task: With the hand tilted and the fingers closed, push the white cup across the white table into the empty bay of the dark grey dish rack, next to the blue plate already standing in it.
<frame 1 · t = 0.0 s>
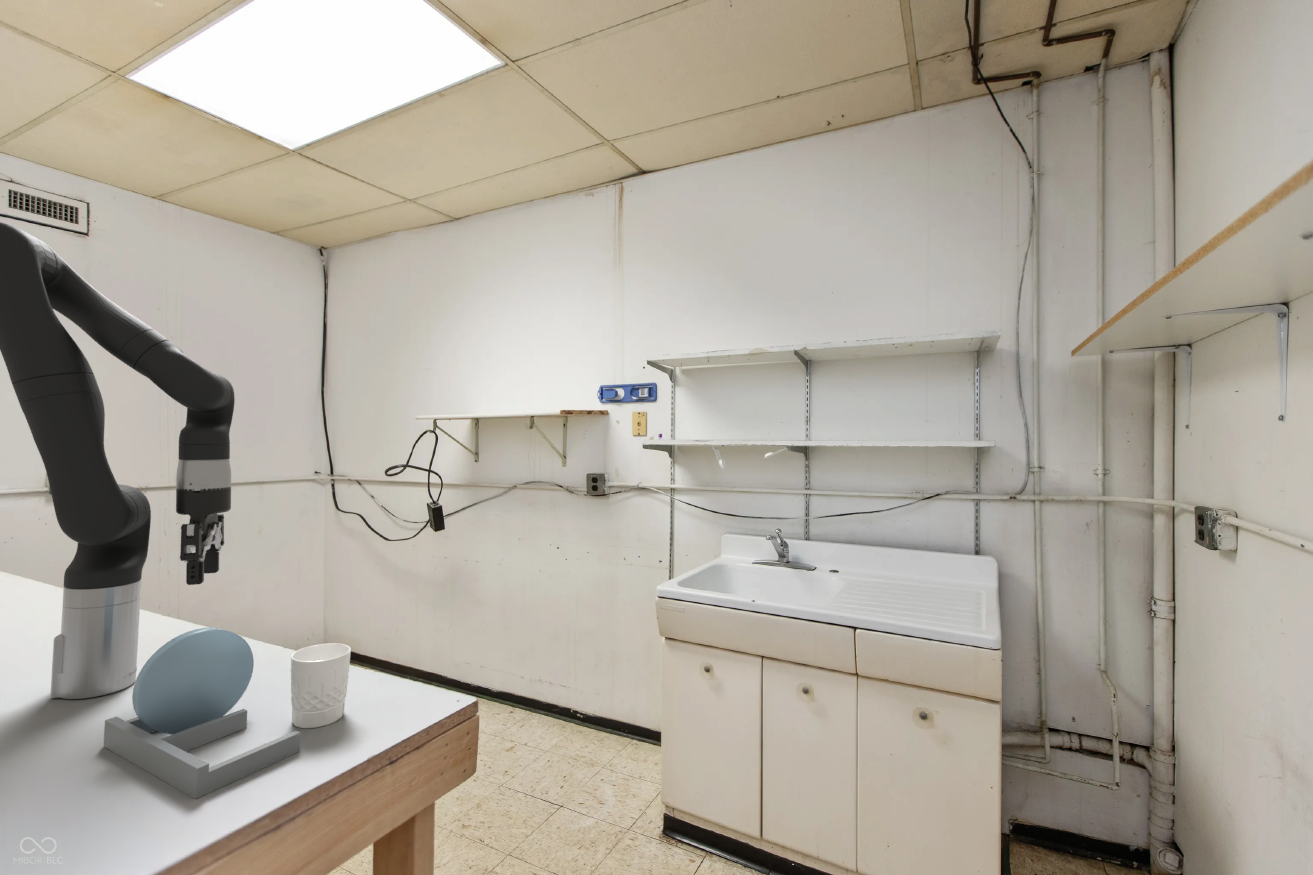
hand: (203, 578, 99), 17 cm above the table, tool pointing down, fingers open, 8 cm apart
dish rack: (230, 754, 76), on the table
white cup: (318, 719, 86), on the table
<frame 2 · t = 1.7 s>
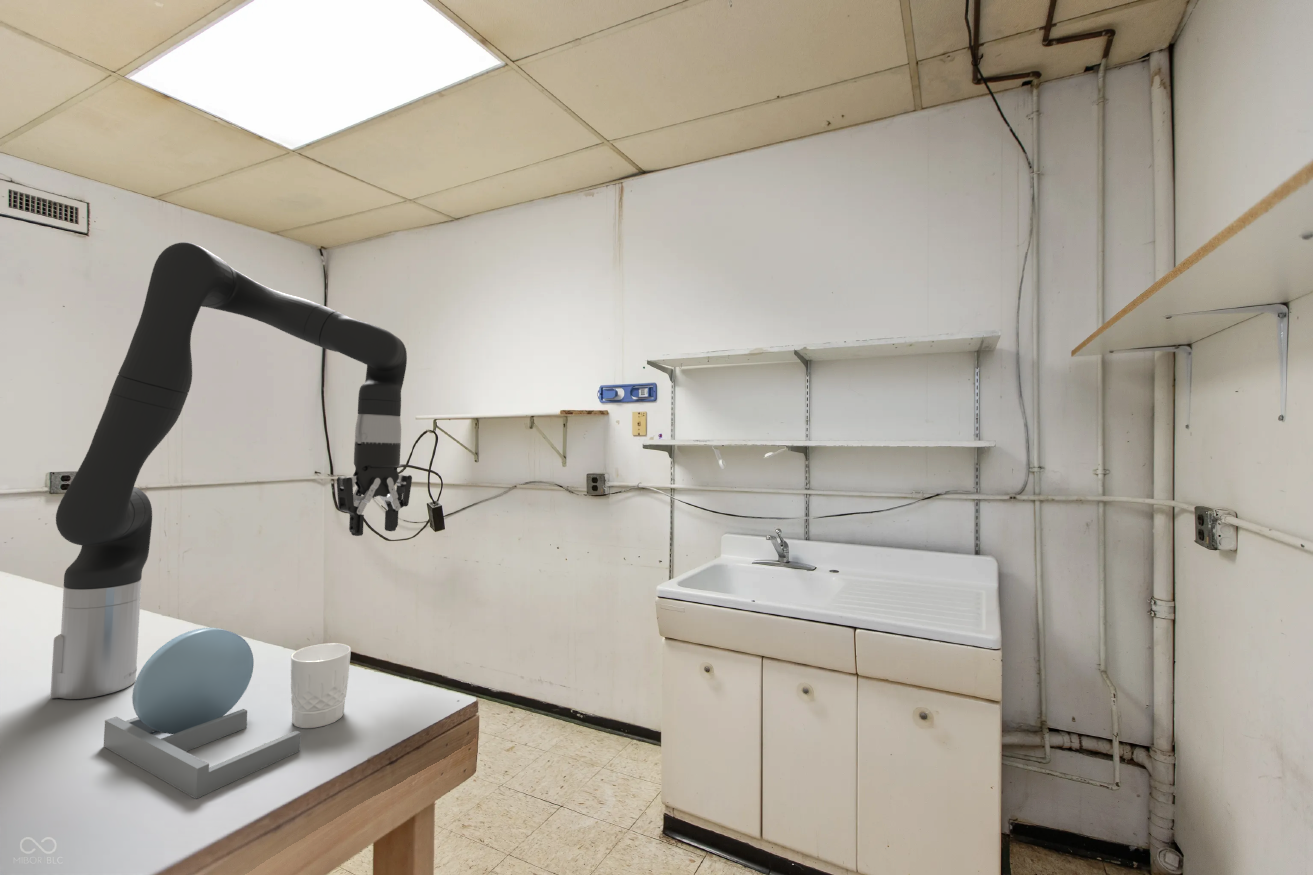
hand: (373, 532, 103), 26 cm above the table, tool pointing down, fingers open, 6 cm apart
nothing on the table moved.
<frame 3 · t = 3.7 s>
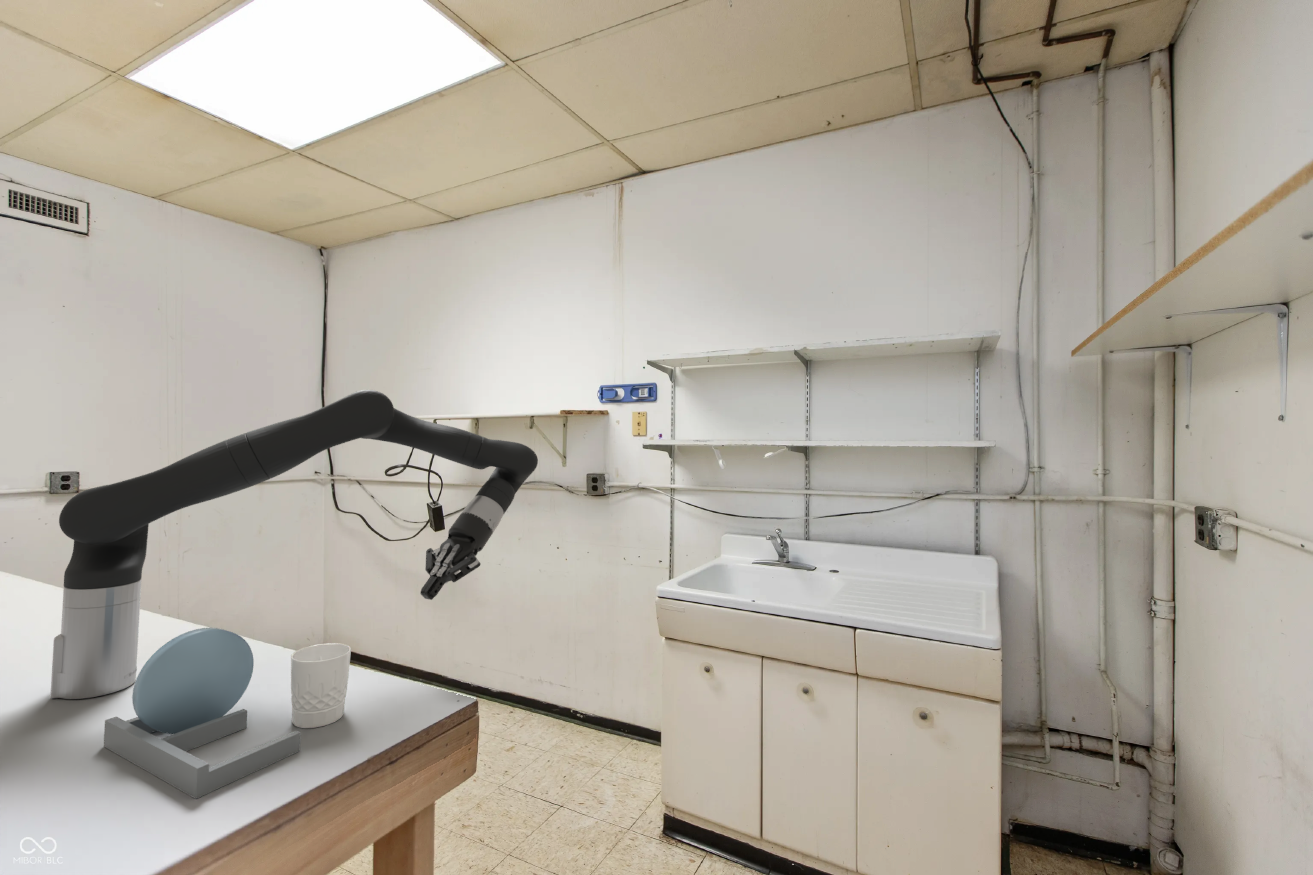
hand: (425, 596, 104), 14 cm above the table, tool tilted 45°, fingers closed
nothing on the table moved.
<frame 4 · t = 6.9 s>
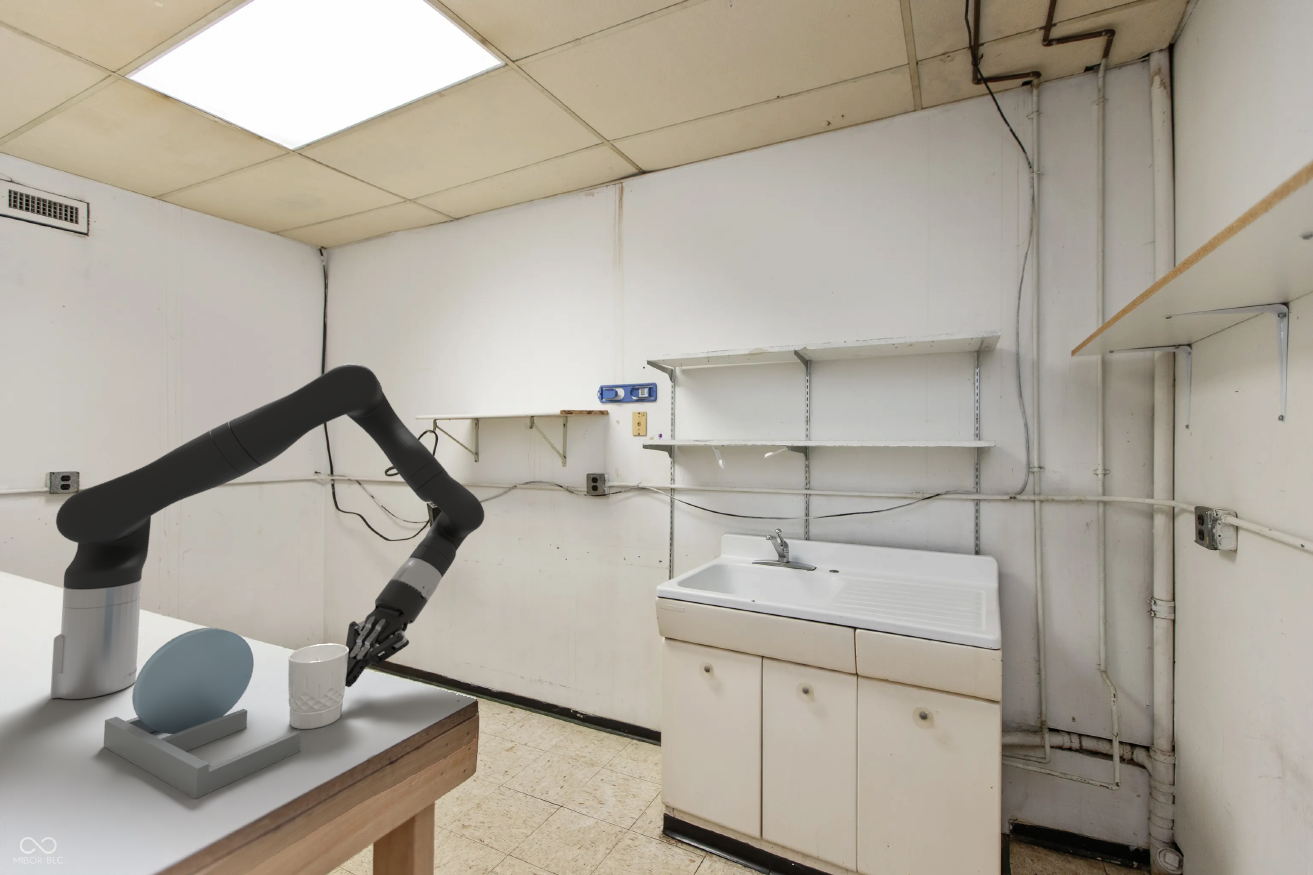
hand: (342, 683, 90), 4 cm above the table, tool tilted 45°, fingers closed
white cup: (315, 720, 86), on the table, touching gripper
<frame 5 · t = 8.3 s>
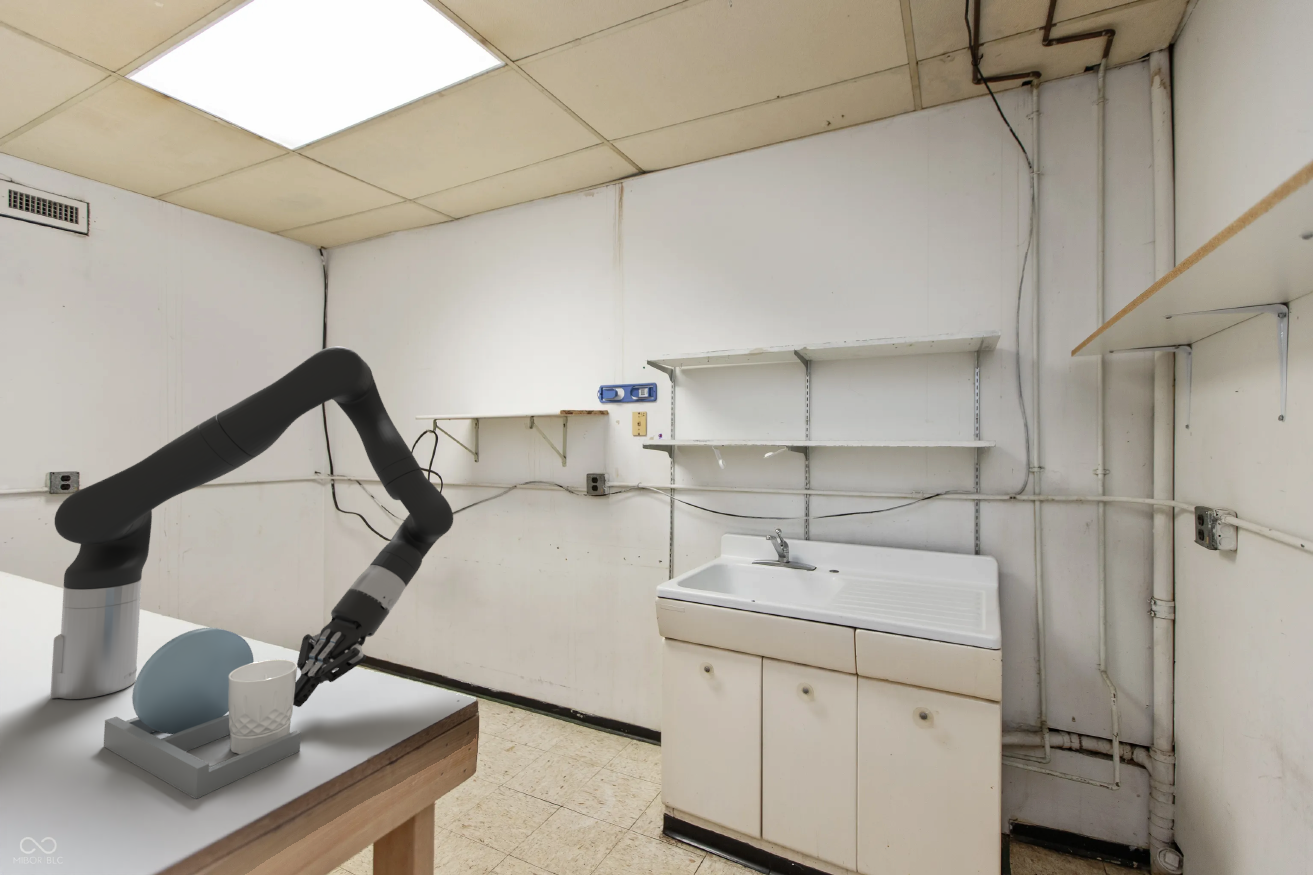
hand: (292, 703, 83), 4 cm above the table, tool tilted 45°, fingers closed
white cup: (260, 743, 79), on the table, touching gripper
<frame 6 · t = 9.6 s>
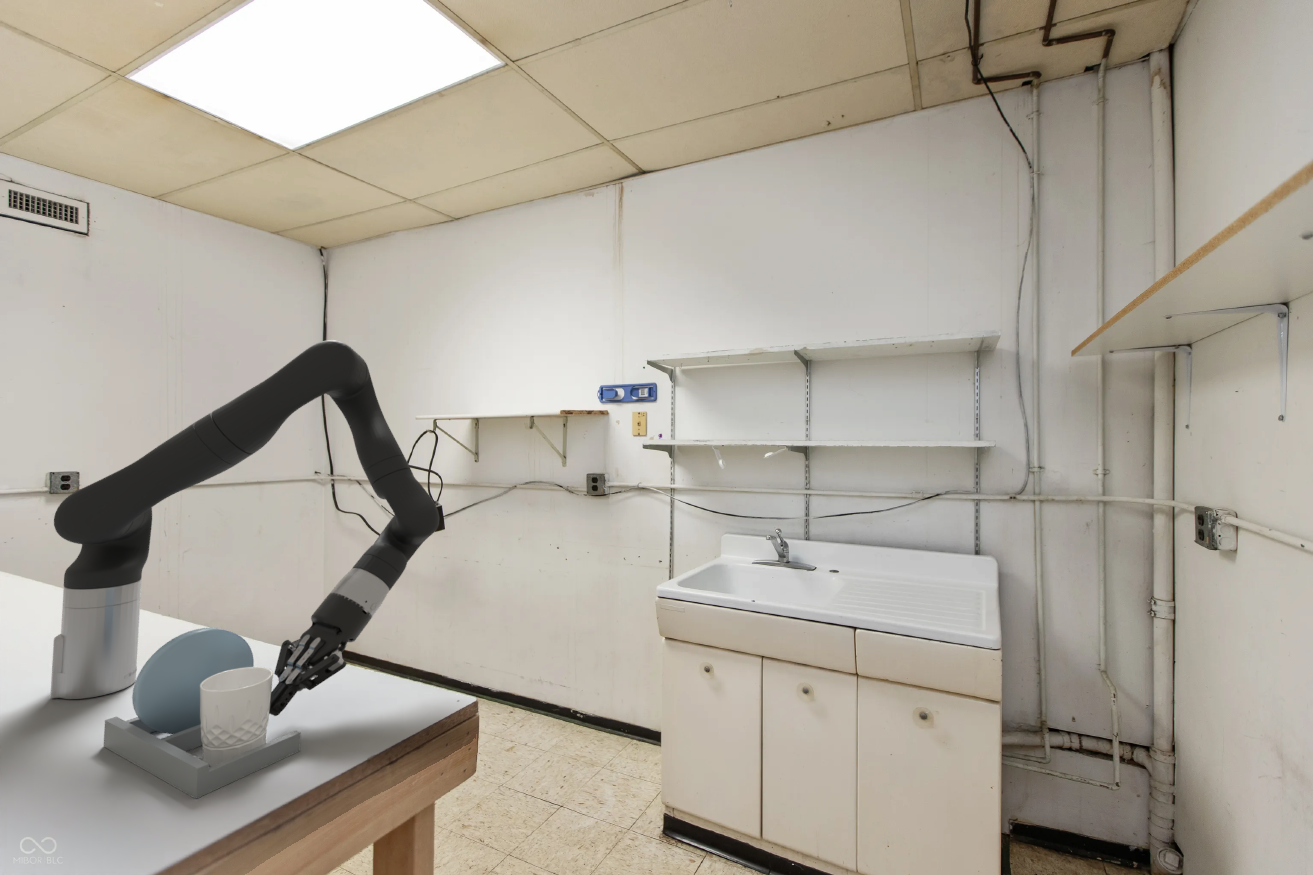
hand: (268, 712, 80), 4 cm above the table, tool tilted 45°, fingers closed
white cup: (234, 754, 76), on the table, touching gripper
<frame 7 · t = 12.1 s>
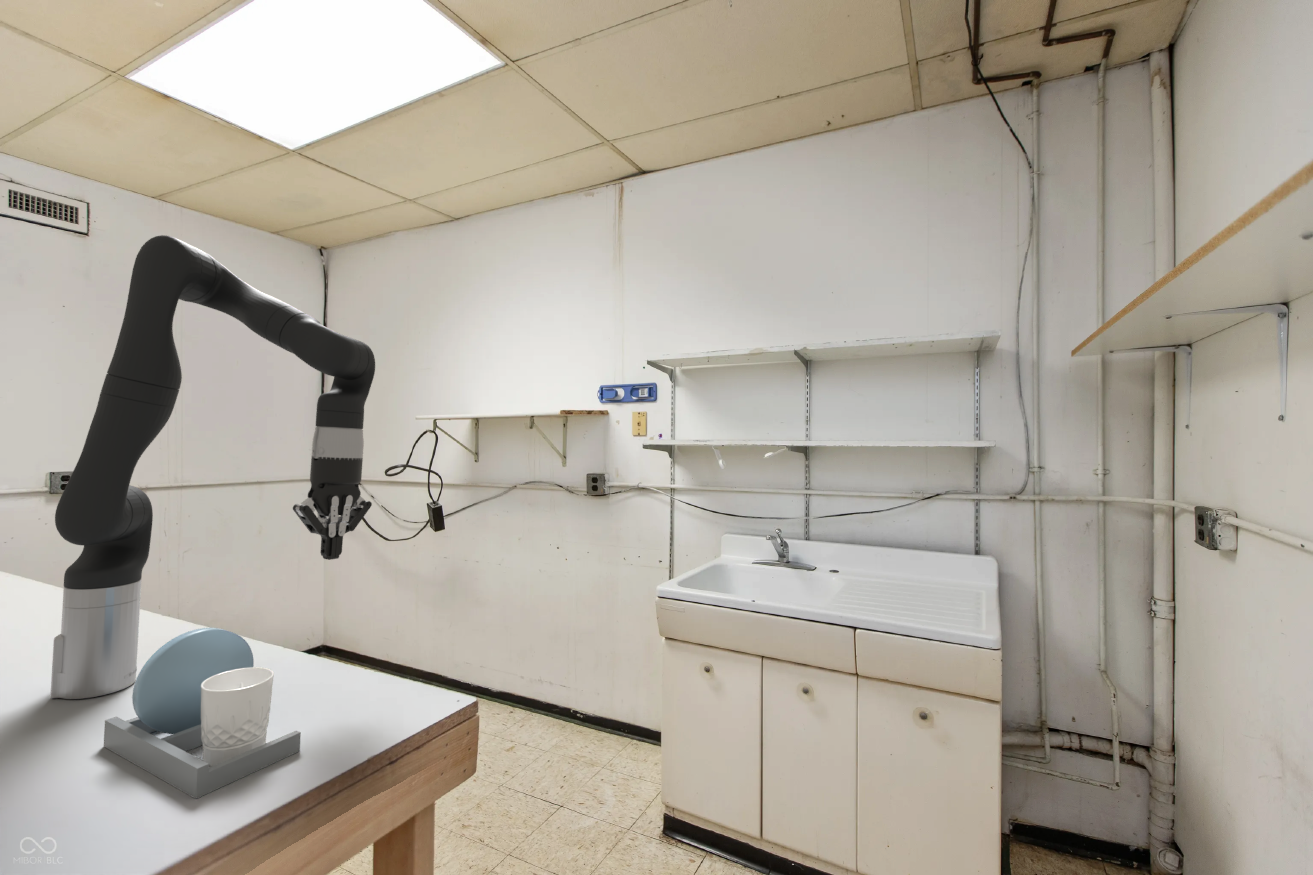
hand: (330, 558, 95), 22 cm above the table, tool pointing down, fingers closed
white cup: (234, 755, 76), on the table
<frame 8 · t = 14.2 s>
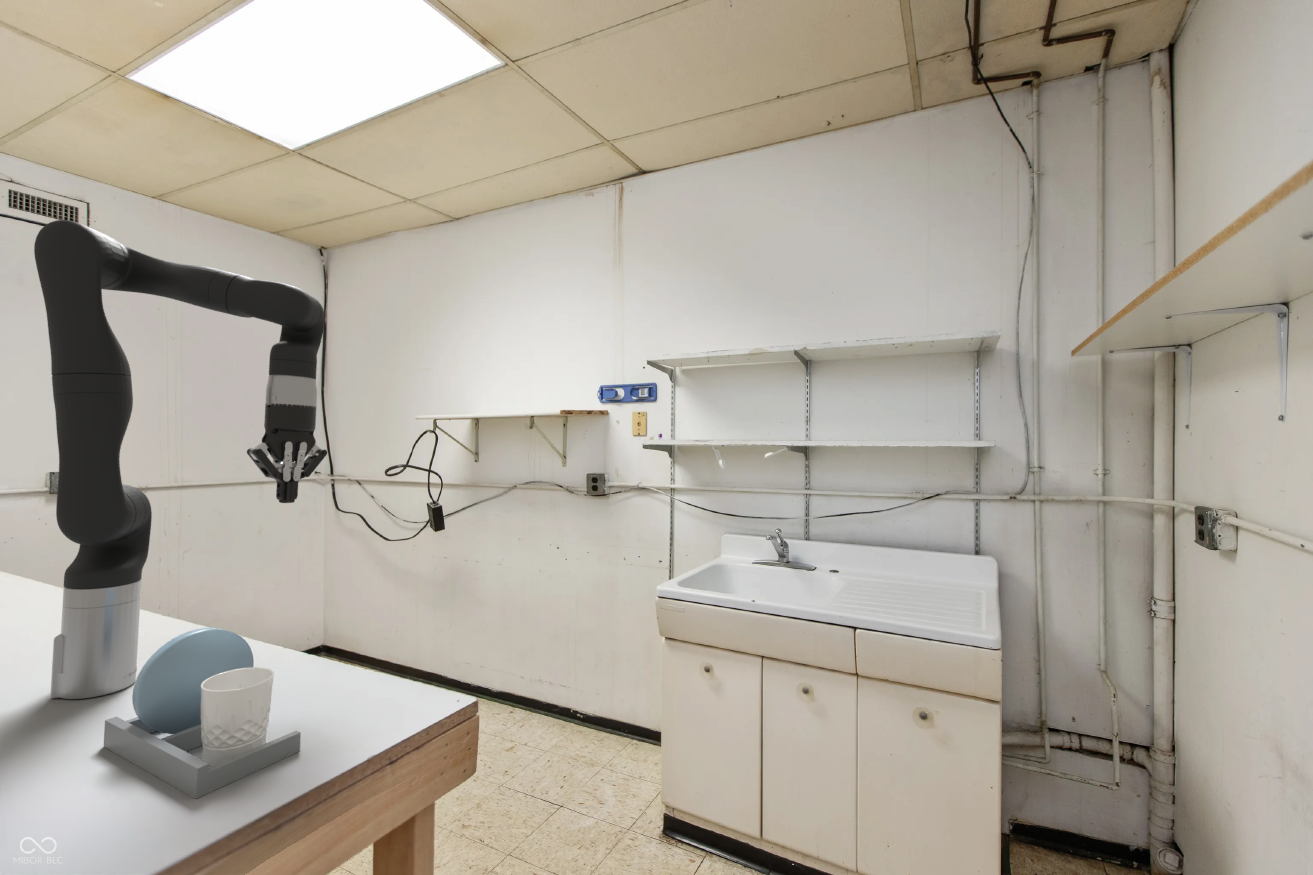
hand: (286, 502, 99), 31 cm above the table, tool pointing down, fingers closed
nothing on the table moved.
at the end: white cup inside the target area on the dish rack (0.2 cm from its centre), point 0.0 cm above the dish rack's base; white cup tilted 0° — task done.
